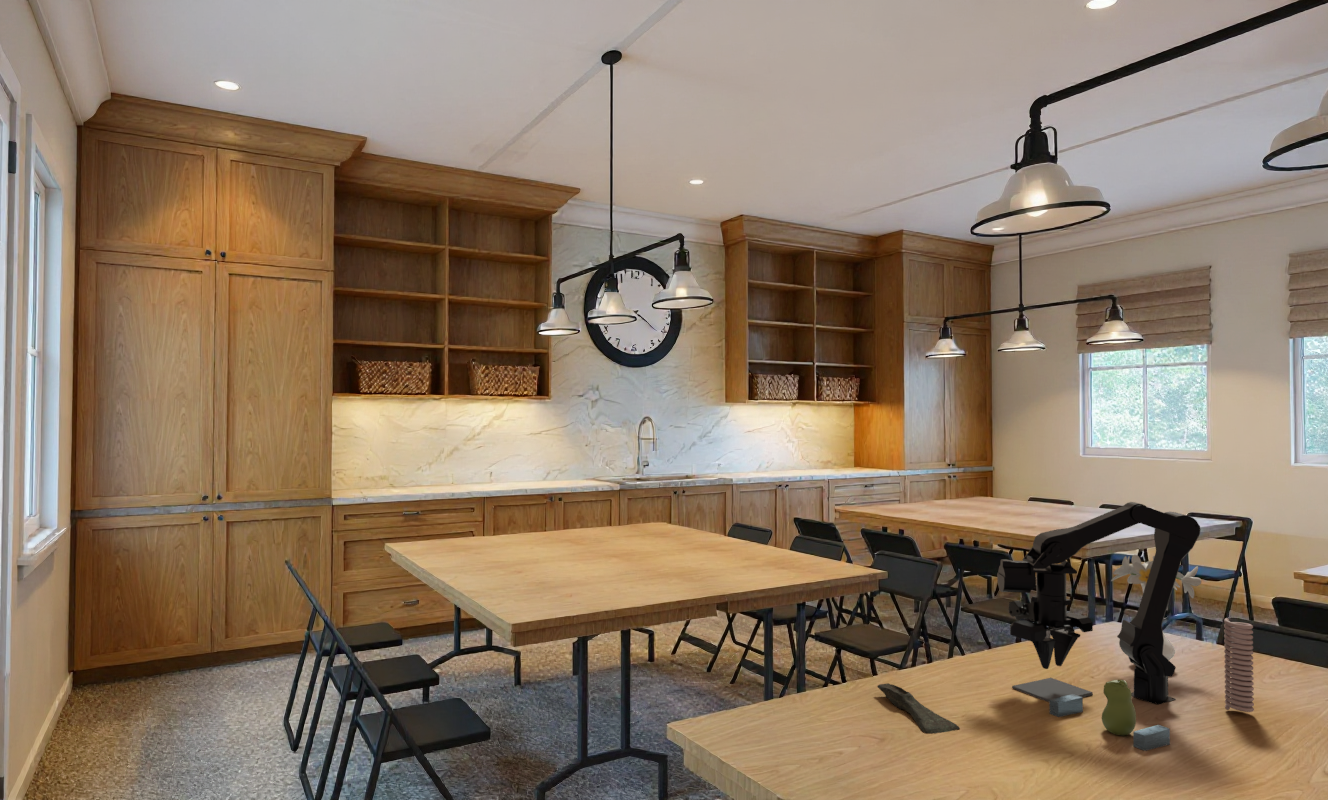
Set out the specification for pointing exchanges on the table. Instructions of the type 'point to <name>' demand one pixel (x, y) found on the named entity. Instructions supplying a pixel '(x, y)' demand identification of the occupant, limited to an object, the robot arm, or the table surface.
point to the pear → (1118, 708)
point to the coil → (1238, 666)
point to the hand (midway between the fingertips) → (1051, 667)
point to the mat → (1050, 689)
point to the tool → (917, 710)
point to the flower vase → (1141, 576)
